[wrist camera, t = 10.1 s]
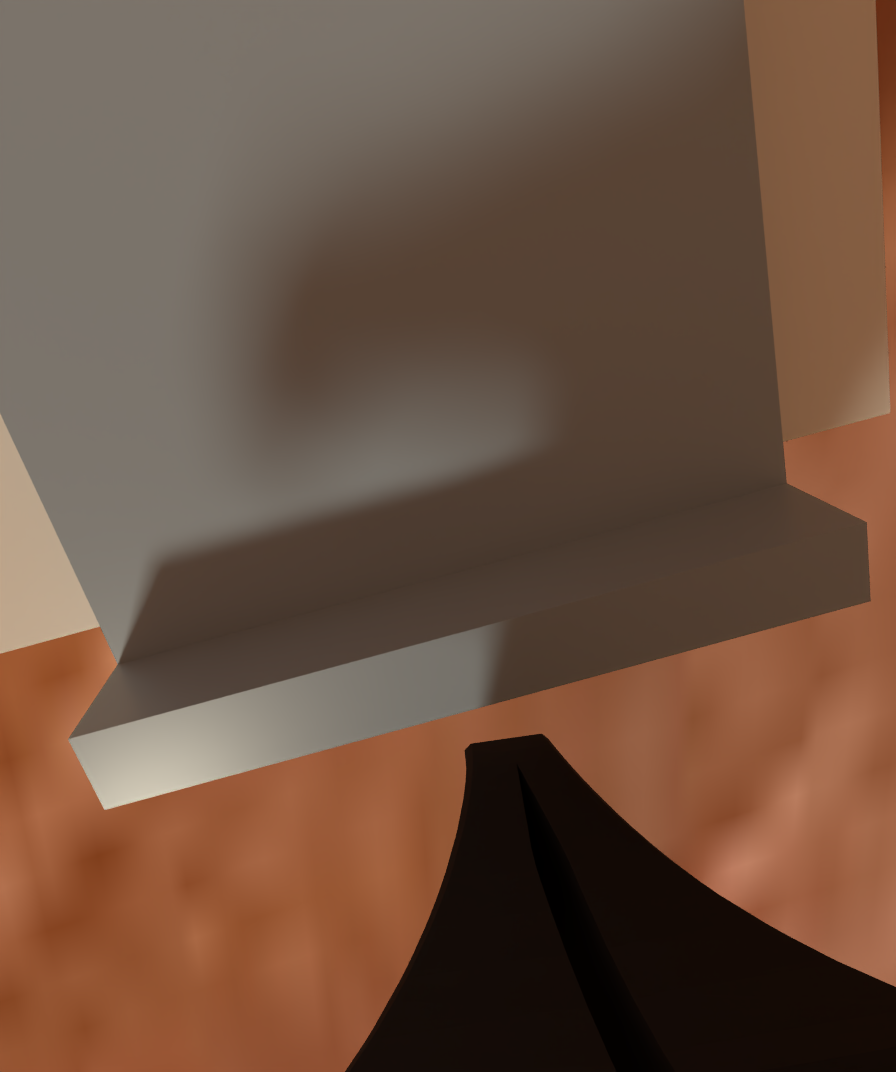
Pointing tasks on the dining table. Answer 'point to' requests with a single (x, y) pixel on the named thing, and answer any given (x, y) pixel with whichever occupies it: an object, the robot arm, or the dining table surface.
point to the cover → (391, 359)
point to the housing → (792, 261)
